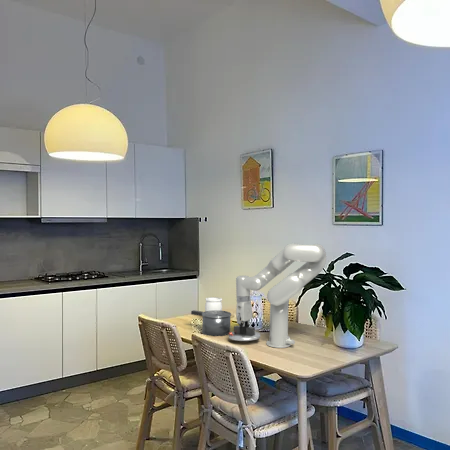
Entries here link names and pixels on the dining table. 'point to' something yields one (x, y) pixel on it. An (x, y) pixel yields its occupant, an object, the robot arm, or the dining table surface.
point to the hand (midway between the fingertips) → (244, 332)
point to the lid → (244, 337)
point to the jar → (213, 304)
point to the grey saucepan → (214, 322)
